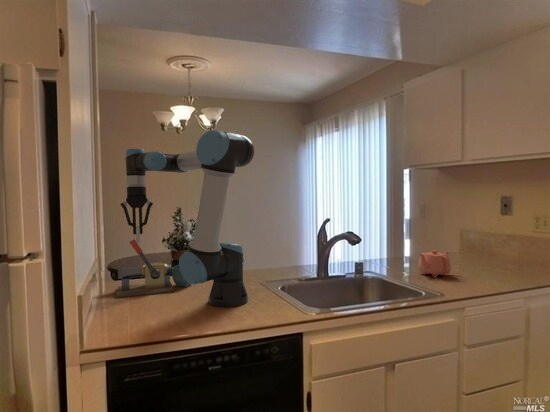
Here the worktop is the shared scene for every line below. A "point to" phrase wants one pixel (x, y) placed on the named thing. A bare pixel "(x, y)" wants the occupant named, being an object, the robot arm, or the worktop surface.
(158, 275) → the lever
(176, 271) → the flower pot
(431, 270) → the teapot
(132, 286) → the mount board
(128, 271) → the valve
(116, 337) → the worktop surface
